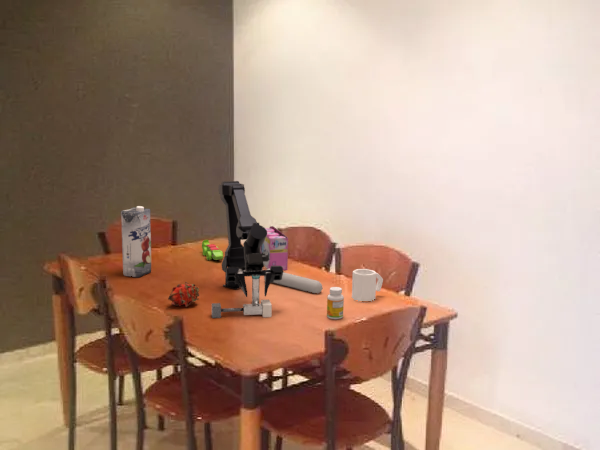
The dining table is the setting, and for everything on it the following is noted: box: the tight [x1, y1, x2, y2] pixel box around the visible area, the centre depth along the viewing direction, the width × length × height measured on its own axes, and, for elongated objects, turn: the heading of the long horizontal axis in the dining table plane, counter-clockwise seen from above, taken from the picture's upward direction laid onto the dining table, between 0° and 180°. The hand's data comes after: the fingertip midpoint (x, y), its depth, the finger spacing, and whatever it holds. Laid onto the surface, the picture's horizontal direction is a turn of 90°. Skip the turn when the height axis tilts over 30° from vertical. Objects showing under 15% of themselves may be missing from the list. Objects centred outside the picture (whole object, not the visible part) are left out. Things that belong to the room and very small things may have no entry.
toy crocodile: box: [201, 239, 224, 261], centre depth 318 cm, size 20×7×6 cm, turn 20°
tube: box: [263, 268, 323, 294], centre depth 277 cm, size 5×5×25 cm
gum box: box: [260, 225, 289, 271], centre depth 310 cm, size 24×8×14 cm, turn 17°
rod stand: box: [211, 302, 244, 319], centre depth 244 cm, size 12×4×4 cm, turn 100°
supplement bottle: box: [326, 286, 345, 320], centre depth 244 cm, size 5×5×10 cm
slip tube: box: [242, 274, 263, 316], centre depth 244 cm, size 8×3×13 cm, turn 100°
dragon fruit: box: [168, 281, 200, 308], centre depth 253 cm, size 8×8×12 cm
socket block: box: [260, 299, 273, 318], centre depth 246 cm, size 3×6×4 cm, turn 10°
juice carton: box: [120, 205, 152, 278], centre depth 288 cm, size 9×10×27 cm
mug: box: [351, 268, 384, 302], centre depth 266 cm, size 12×9×10 cm
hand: (256, 296), depth 243 cm, fingers open, 6 cm apart
